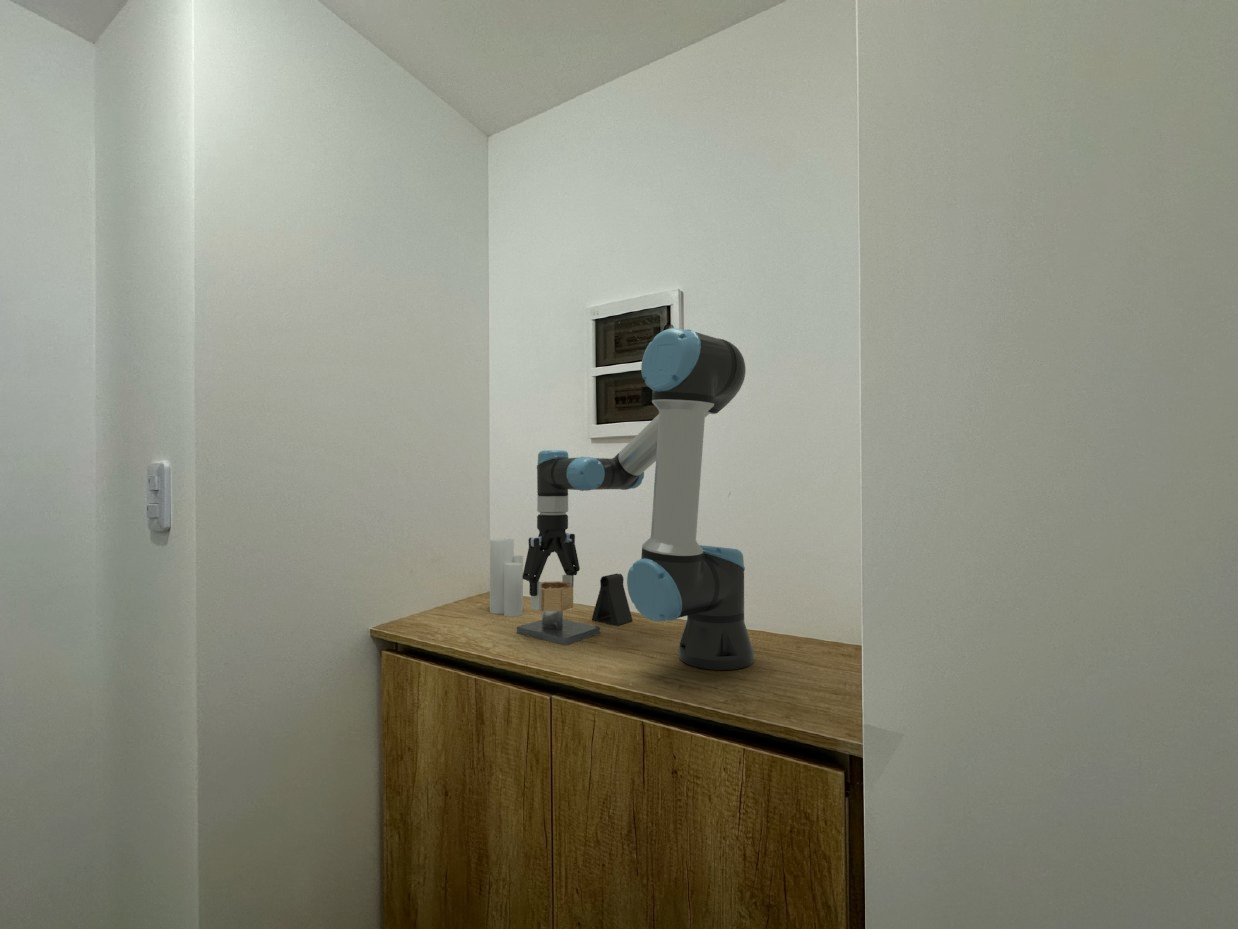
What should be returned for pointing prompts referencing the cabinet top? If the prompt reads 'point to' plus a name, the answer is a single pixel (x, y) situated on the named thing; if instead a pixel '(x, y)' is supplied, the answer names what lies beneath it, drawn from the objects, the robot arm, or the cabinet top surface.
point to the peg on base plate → (558, 629)
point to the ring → (556, 596)
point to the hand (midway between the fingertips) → (552, 605)
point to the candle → (505, 579)
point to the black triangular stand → (612, 602)
